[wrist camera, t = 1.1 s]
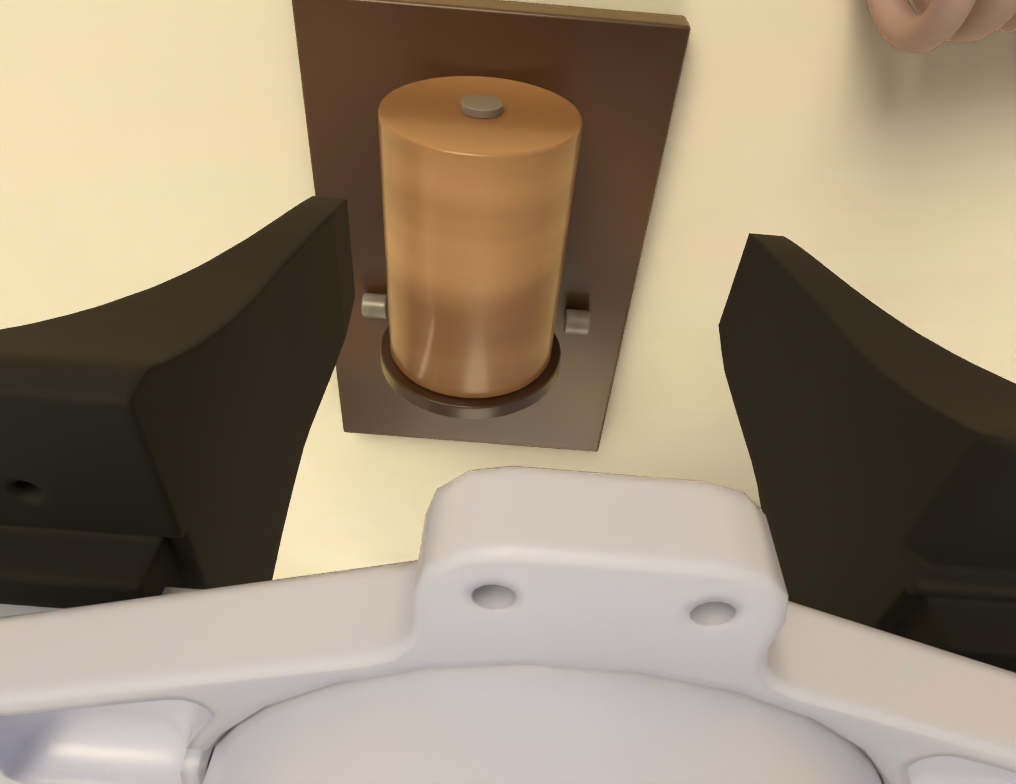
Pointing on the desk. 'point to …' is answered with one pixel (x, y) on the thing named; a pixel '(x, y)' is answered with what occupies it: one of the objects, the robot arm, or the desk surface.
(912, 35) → the pink hollow tube
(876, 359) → the robot arm
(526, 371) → the battery
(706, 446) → the desk surface
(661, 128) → the base board
